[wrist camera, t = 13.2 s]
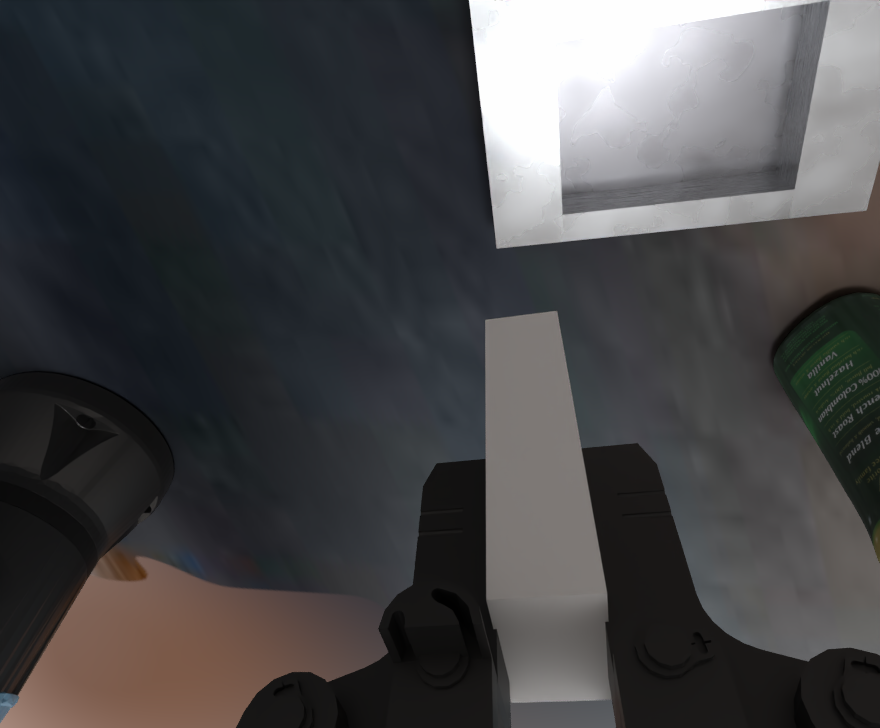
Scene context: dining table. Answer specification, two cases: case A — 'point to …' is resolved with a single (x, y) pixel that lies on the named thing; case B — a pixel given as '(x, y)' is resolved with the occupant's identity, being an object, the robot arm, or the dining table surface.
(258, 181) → the dining table surface
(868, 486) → the coffee jar
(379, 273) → the dining table surface
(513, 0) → the socket plate
